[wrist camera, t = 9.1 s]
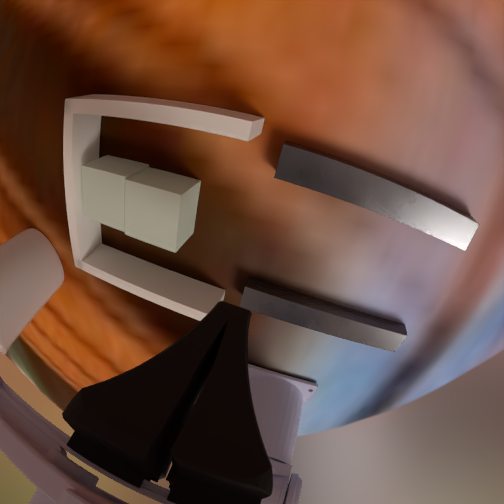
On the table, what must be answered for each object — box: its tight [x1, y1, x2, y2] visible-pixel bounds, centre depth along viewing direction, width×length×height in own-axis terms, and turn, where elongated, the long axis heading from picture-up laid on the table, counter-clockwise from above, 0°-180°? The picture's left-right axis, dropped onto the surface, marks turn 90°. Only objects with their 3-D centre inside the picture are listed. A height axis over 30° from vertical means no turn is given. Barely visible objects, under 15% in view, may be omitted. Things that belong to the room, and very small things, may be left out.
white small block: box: [125, 167, 201, 253], centre depth 18 cm, size 4×4×3 cm
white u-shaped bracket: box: [63, 94, 265, 321], centre depth 18 cm, size 14×13×3 cm
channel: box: [240, 141, 479, 352], centre depth 17 cm, size 12×13×1 cm
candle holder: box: [0, 228, 64, 354], centre depth 22 cm, size 10×10×12 cm
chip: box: [82, 155, 149, 232], centre depth 18 cm, size 4×4×3 cm
